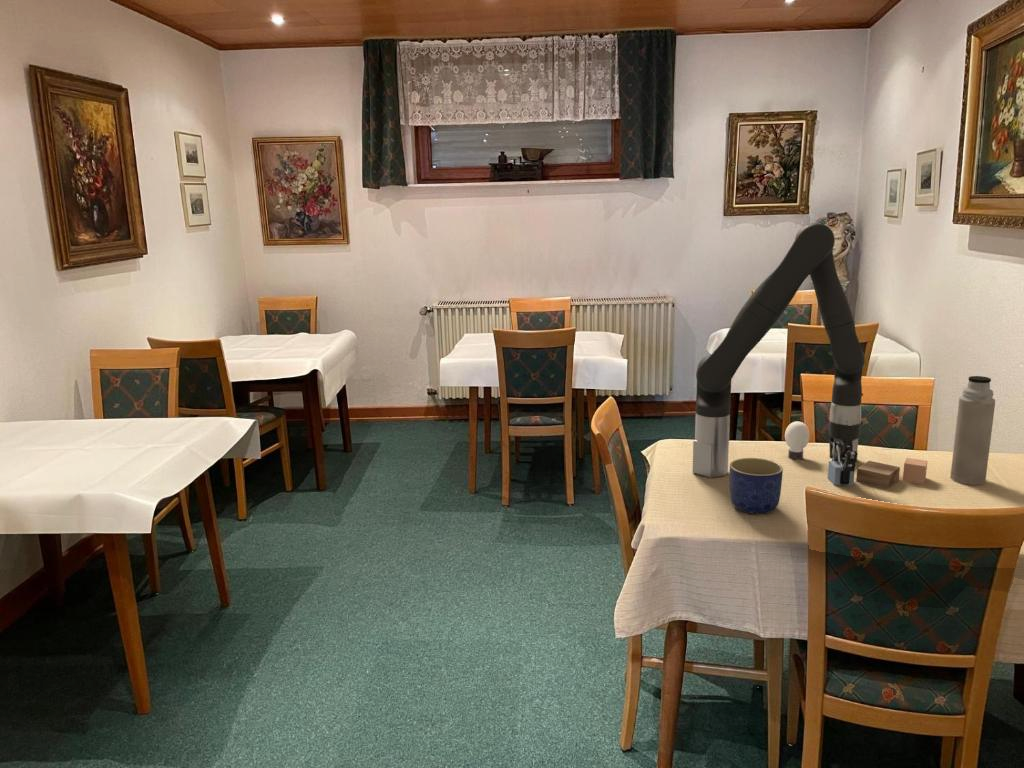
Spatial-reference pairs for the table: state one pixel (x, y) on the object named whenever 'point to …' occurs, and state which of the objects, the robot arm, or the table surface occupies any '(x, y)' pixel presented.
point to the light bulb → (796, 439)
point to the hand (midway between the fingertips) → (840, 480)
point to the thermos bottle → (973, 432)
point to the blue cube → (837, 473)
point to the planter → (755, 485)
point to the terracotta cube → (915, 470)
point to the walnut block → (878, 474)
